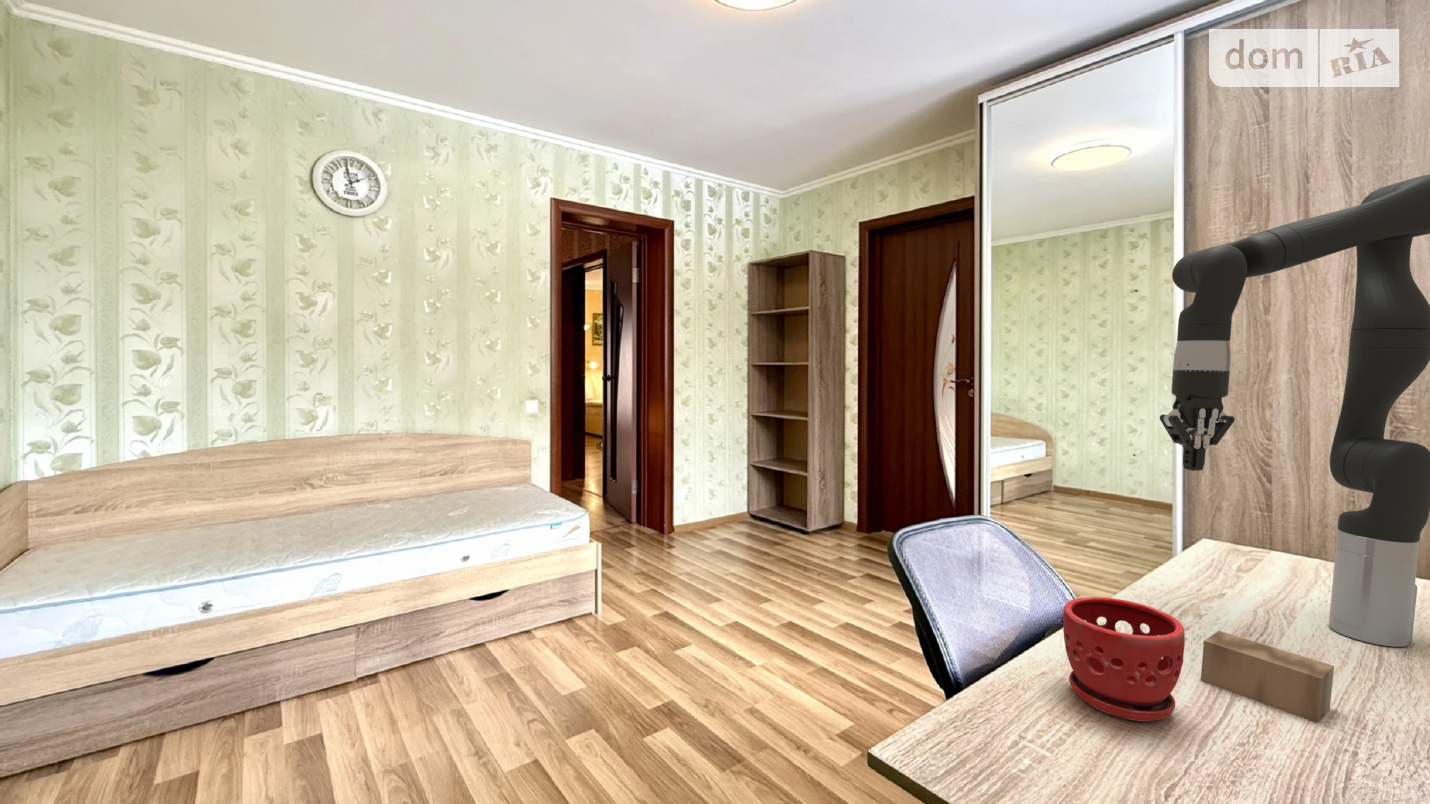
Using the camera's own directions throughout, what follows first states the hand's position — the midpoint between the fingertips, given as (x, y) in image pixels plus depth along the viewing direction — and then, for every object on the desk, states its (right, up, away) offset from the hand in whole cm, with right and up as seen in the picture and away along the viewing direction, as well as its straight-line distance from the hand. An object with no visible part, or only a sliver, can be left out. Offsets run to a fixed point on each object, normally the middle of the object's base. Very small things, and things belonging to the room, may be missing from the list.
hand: (1193, 469), depth 103 cm
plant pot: (-29, -28, -23) cm, 47 cm away
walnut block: (-10, -25, -16) cm, 31 cm away
